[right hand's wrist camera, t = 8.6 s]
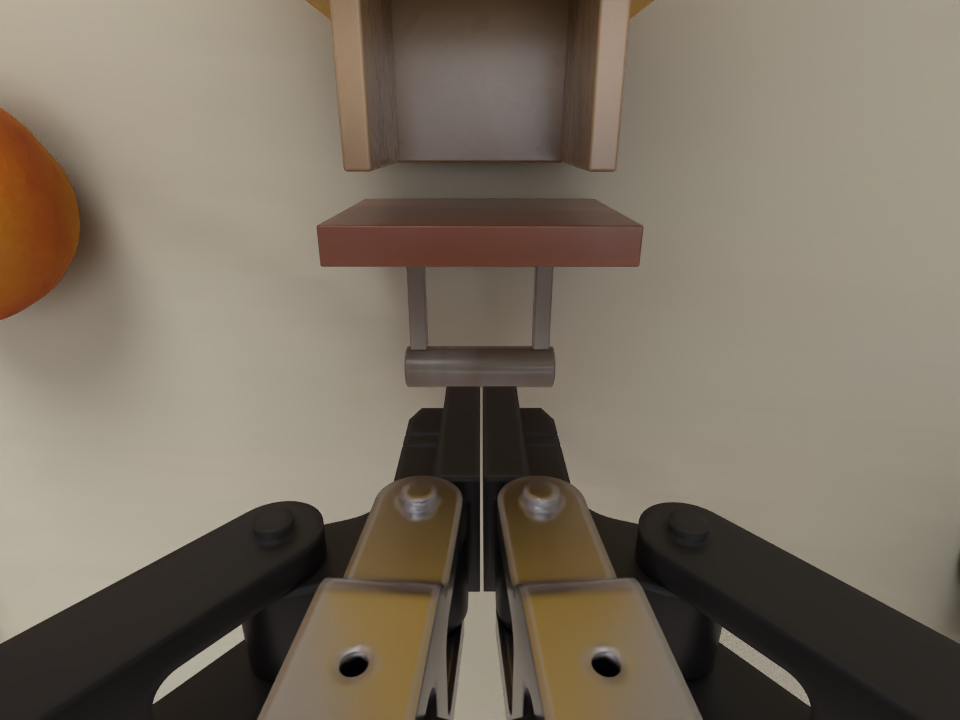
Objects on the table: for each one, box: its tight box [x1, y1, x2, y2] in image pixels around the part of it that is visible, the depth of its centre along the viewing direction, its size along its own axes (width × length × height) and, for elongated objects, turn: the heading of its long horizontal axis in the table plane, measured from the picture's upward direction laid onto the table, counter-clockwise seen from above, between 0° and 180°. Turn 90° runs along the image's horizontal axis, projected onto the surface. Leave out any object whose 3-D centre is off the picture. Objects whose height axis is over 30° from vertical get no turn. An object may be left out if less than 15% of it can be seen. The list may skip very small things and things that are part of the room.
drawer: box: [317, 0, 643, 387], centre depth 17 cm, size 24×9×7 cm, turn 0°
